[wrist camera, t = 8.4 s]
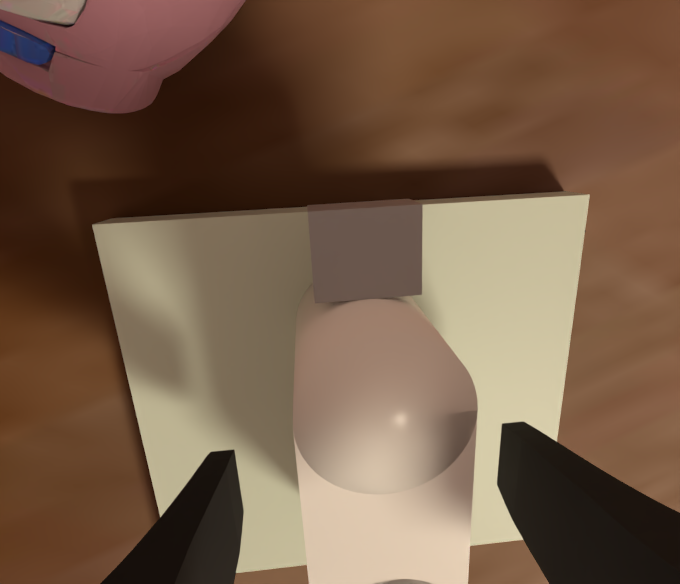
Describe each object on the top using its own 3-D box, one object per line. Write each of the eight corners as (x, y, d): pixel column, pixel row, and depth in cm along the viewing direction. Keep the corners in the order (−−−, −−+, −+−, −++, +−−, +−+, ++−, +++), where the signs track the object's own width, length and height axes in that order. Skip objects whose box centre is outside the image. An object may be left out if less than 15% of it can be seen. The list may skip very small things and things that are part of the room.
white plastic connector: (412, 515, 15) (462, 675, 11) (314, 526, 15) (320, 694, 10) (413, 190, 12) (488, 214, 7) (284, 198, 12) (271, 229, 7)
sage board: (528, 512, 17) (543, 537, 16) (183, 550, 16) (175, 579, 15) (565, 191, 13) (589, 194, 12) (110, 218, 12) (91, 225, 11)
